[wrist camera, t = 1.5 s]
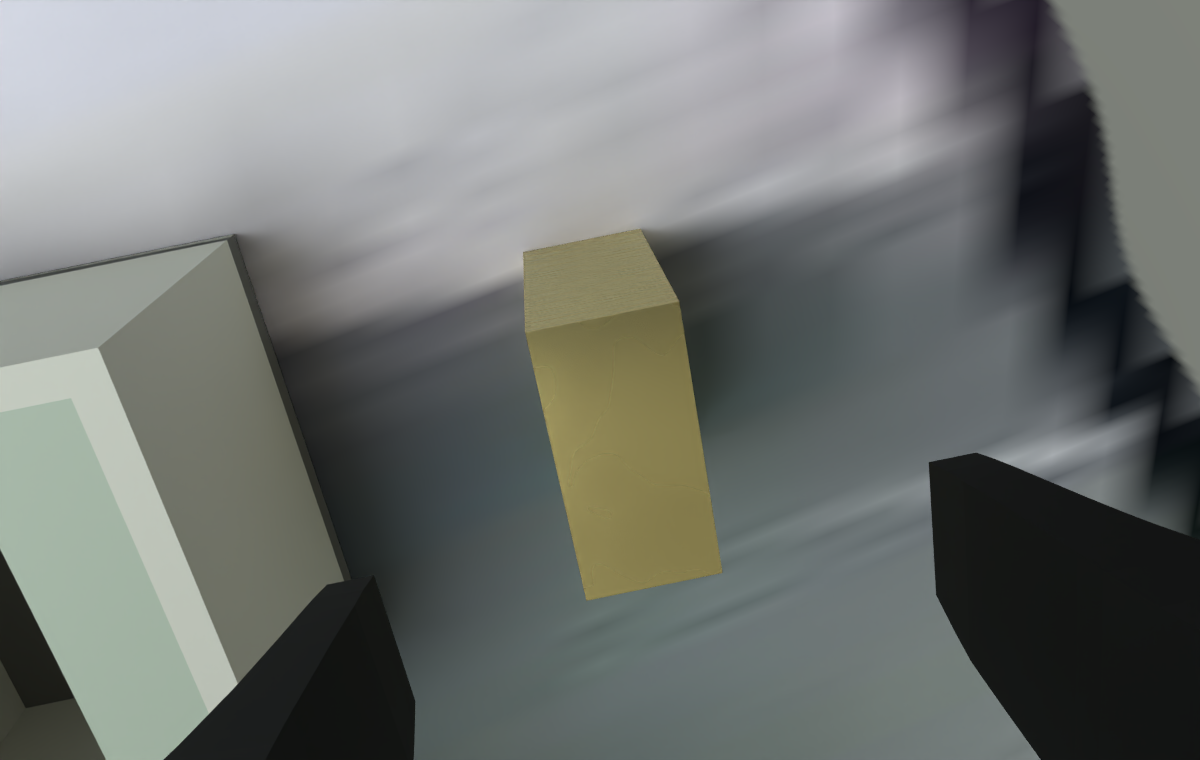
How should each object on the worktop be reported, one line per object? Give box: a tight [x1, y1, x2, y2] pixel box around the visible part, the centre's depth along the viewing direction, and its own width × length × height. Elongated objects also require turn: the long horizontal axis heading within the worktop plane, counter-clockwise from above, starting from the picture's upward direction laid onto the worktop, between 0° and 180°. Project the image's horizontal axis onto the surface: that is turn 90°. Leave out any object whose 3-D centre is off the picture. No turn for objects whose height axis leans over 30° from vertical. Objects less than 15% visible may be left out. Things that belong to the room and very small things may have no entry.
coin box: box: [0, 234, 352, 760], centre depth 17 cm, size 10×8×6 cm
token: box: [523, 229, 722, 601], centre depth 18 cm, size 5×2×5 cm, turn 11°
